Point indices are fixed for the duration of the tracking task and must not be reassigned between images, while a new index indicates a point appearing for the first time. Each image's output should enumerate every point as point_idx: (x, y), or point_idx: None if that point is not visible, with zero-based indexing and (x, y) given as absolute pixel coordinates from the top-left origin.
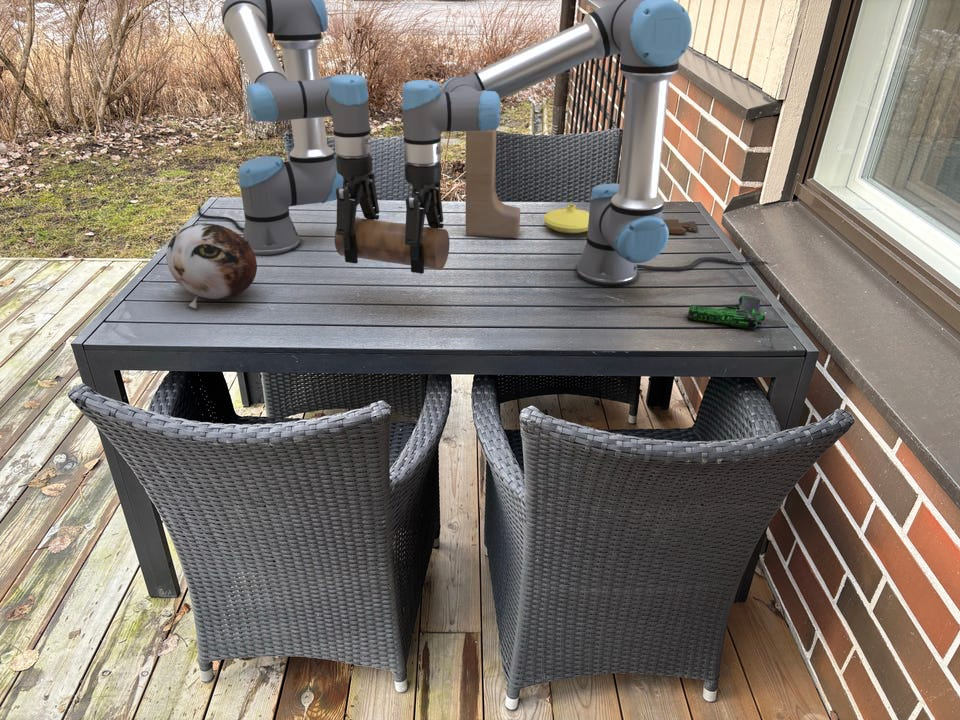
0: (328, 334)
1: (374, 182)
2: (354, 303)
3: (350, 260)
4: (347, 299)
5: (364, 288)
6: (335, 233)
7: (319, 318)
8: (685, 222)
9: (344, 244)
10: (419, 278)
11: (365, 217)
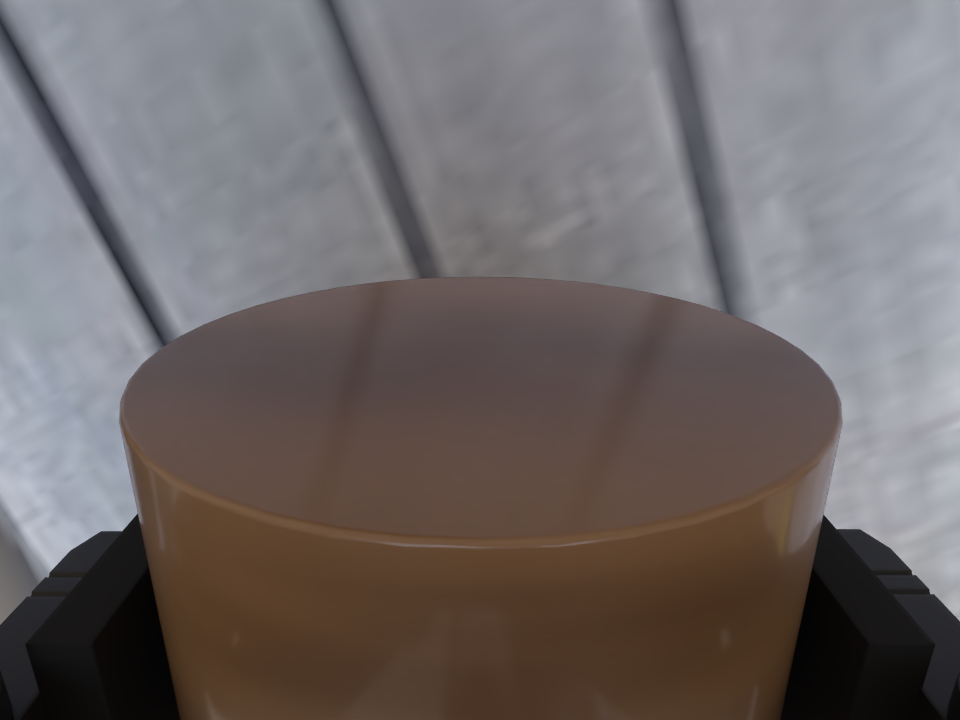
0: (28, 306)
1: None
2: (433, 264)
3: None
4: (469, 195)
5: (658, 224)
6: (124, 418)
7: (160, 154)
8: None
9: (44, 592)
10: (875, 474)
11: (952, 700)
